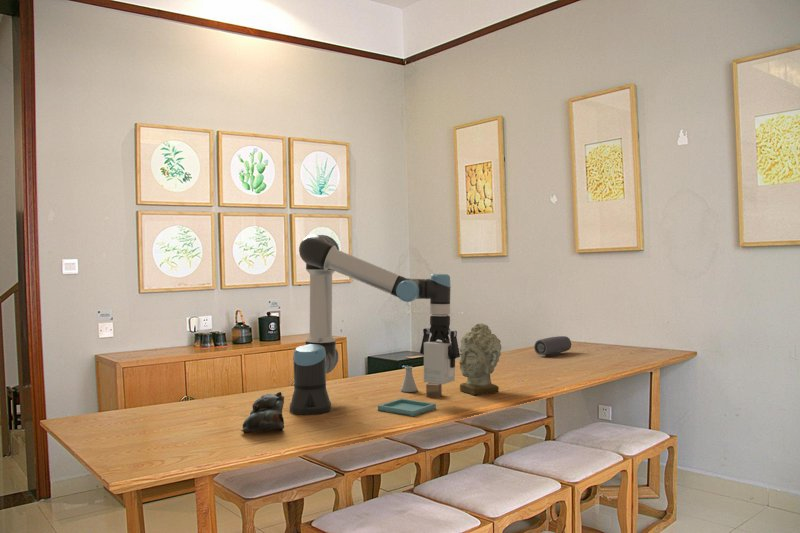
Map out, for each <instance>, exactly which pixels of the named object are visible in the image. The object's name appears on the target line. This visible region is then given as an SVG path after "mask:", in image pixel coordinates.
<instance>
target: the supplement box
mask: <svg viewBox="0 0 800 533" xmlns="http://www.w3.org/2000/svg"><path fill="white" fill-rule="evenodd" d="M450 345H451V341H450V343H443V342H442V340H439V339H438V340H437V341H434V342H429V341H428V342H424V355H423V382H424V383H437V384H442V385H445V384H448V383H452V382H455V381H456V373H455V372H456V366H455V367H454V368H453V376H451V377H448V359H449V355H448V346H450ZM451 346H452V345H451Z"/></svg>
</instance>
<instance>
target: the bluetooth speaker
mask: <svg viewBox="0 0 800 533" xmlns="http://www.w3.org/2000/svg"><path fill="white" fill-rule="evenodd" d="M571 348H572V342H571V339H570V337H568V336H566V335H565V336H563V335H561V336H551V337H546V338H541V339H539V340H537V341H535V342H534V351H535V353H536V354H537V355H539V356H546V357H554V356H559V355H561V353H564V352H568V351H570V350H571Z"/></svg>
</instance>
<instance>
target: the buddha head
mask: <svg viewBox="0 0 800 533" xmlns="http://www.w3.org/2000/svg"><path fill="white" fill-rule="evenodd" d="M501 350H502V344H501V340H500V338H498V337H497V335H496V334H494V333H492V330H491V329H490V327H489V326H488V325H487V324H484V323H477V324H475V325H473V327H471V328H470V331H469V332H466V333H465V334H464V336H462V337H461V339H460V347H459V353H460V357H459V369H460V371H461V375H462V376H463V377H464V378H467V380H466V381H465V382H462V383H461V384H460V385H459V391H460V392H462V393H464V394H465V393H466V394H469V395H471V396H475V397H478V395H479V396H483V395H489V394H491V395H492V394H497V393H500V391H499V390H500V386H499V385H497V384H494V383H492V380H491V374H493V372H494V371H495V367H497V365H498V363H499V361H500V357H501V355H502V354H501Z"/></svg>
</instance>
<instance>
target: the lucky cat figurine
mask: <svg viewBox="0 0 800 533" xmlns="http://www.w3.org/2000/svg"><path fill="white" fill-rule="evenodd" d="M284 405H285V396H284V395H283V394H282V391H279V392H277V393H276V394H275V393H265V394H262V395H261V396H260V397H258V398H257V399H256V400H255V401H254V402H253V403H252V410H251V411H250V413H249V415H248V417H246V418H245V420H244V421H243V423H242V429H241V430H240V432H243V433H244V434H246V433H248V432H253V431H255V432H256V431H270V430H272V431H273V430H275V431H284V429H285V421H284V417H283V409H284Z"/></svg>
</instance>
